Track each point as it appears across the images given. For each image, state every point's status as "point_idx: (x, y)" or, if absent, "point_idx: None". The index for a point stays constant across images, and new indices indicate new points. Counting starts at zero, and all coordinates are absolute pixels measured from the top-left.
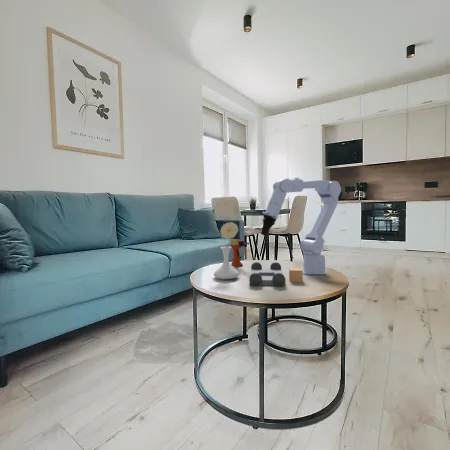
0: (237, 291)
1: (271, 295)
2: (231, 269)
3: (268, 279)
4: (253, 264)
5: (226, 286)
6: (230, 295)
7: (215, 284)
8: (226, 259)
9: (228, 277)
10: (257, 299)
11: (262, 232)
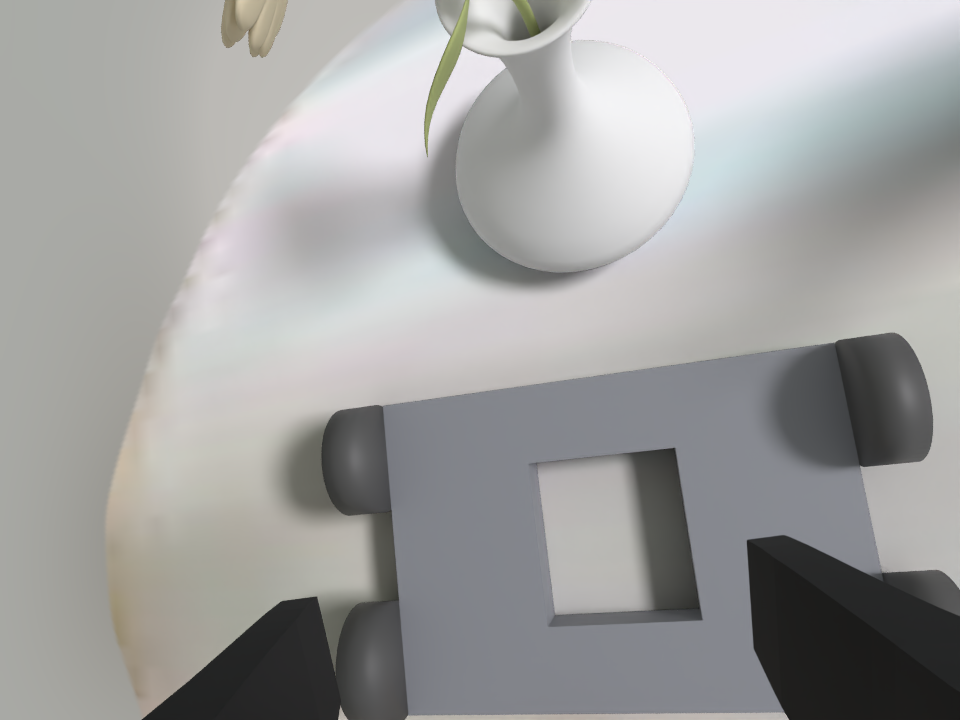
0: (245, 355)
1: (191, 587)
2: (518, 194)
3: (417, 565)
4: (855, 362)
5: (341, 250)
6: (171, 332)
7: (378, 157)
8: (518, 90)
9: (464, 210)
10: (122, 504)
11: (773, 582)
